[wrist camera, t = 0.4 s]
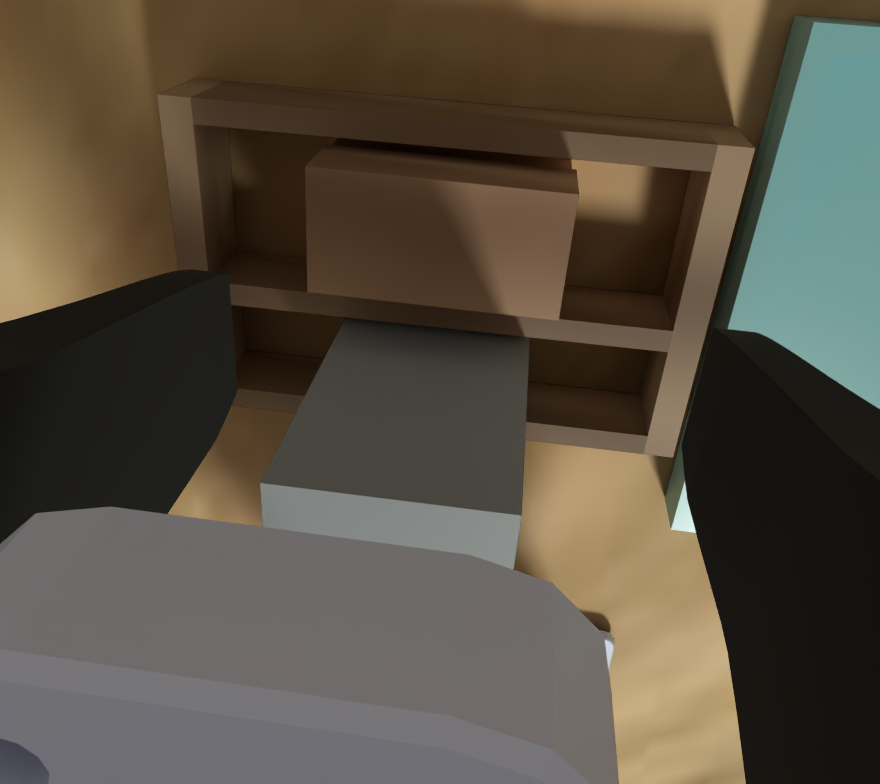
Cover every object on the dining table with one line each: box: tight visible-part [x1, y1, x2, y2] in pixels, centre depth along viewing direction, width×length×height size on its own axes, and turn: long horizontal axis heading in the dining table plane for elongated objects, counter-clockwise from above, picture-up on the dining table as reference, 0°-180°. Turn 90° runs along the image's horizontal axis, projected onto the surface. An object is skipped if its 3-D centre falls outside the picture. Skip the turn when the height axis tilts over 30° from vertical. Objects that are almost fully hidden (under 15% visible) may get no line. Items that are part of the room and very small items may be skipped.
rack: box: [157, 79, 755, 458], centre depth 21 cm, size 8×14×2 cm, turn 87°
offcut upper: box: [305, 145, 579, 321], centre depth 19 cm, size 3×6×2 cm, turn 86°
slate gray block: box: [260, 317, 530, 570], centre depth 19 cm, size 2×5×9 cm, turn 87°
